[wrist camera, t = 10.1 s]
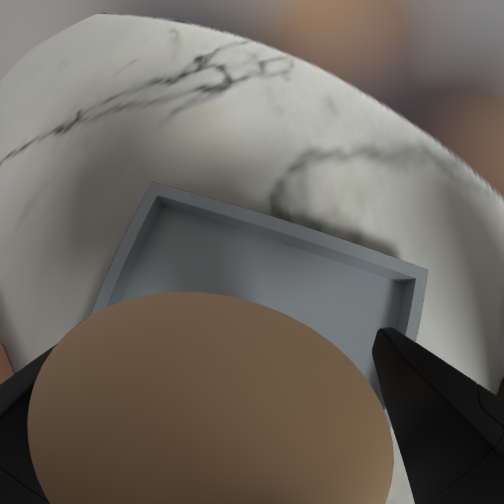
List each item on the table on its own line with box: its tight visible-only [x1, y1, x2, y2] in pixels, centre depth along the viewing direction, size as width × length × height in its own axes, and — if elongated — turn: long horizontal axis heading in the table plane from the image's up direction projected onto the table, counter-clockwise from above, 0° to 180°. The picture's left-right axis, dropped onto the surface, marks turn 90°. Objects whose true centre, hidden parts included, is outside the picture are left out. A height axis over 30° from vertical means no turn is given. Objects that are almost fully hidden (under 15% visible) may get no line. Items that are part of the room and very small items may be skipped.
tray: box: [90, 182, 428, 428], centre depth 15 cm, size 18×18×2 cm
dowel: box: [28, 292, 394, 504], centre depth 9 cm, size 4×4×14 cm
